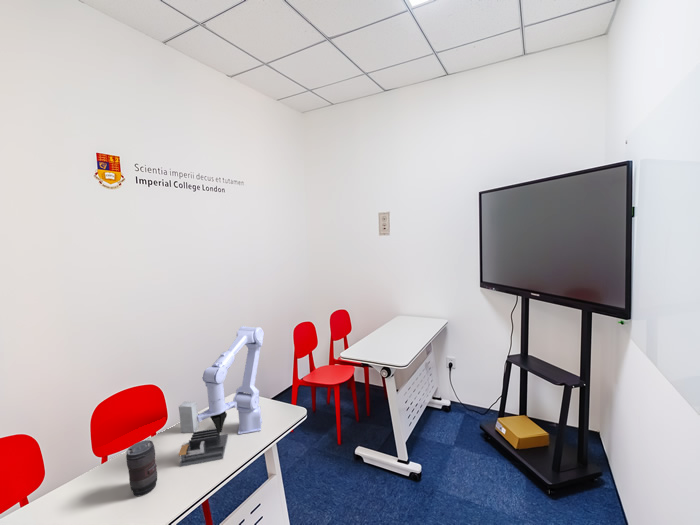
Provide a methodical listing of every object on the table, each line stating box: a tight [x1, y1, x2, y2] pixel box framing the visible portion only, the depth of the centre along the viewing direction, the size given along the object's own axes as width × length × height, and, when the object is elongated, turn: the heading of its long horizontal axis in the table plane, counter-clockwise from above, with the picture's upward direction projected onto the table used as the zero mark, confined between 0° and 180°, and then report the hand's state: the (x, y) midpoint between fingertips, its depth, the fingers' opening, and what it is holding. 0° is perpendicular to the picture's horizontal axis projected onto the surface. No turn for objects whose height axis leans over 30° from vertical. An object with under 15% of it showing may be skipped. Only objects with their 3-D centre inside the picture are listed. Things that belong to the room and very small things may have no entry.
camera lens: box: [125, 439, 158, 497], centre depth 111 cm, size 8×8×15 cm
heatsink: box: [178, 427, 229, 467], centre depth 130 cm, size 15×14×5 cm
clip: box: [185, 441, 206, 458], centre depth 125 cm, size 8×2×4 cm, turn 103°
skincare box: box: [178, 401, 200, 433], centre depth 144 cm, size 6×4×12 cm
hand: (219, 431), depth 127 cm, fingers closed
